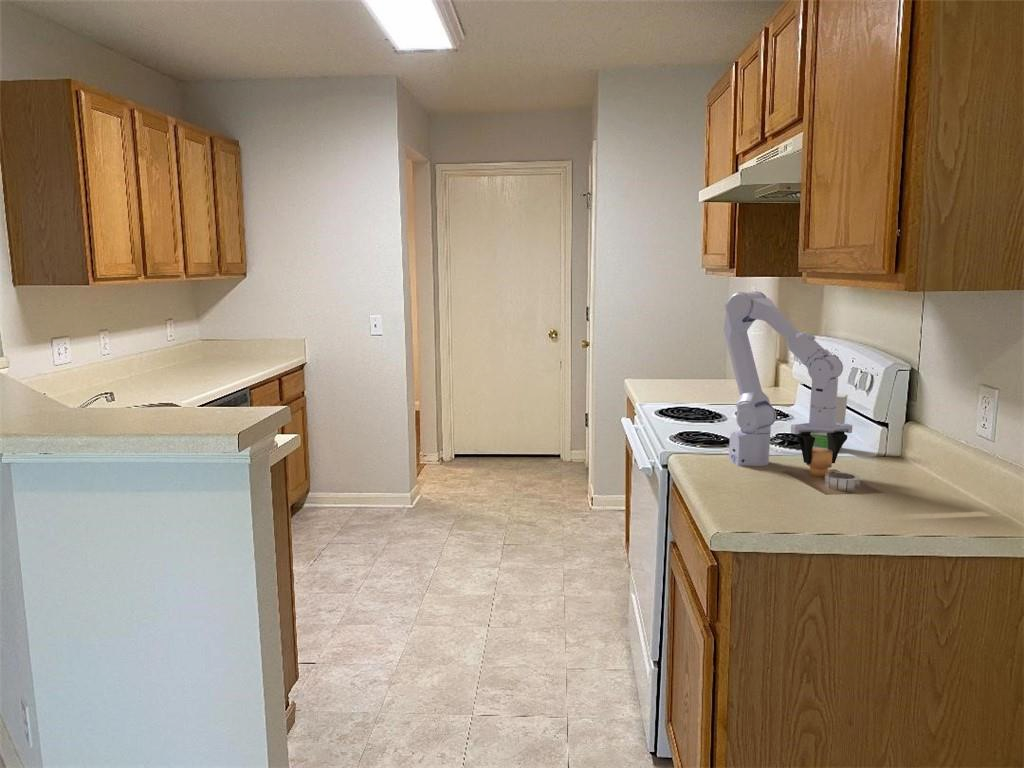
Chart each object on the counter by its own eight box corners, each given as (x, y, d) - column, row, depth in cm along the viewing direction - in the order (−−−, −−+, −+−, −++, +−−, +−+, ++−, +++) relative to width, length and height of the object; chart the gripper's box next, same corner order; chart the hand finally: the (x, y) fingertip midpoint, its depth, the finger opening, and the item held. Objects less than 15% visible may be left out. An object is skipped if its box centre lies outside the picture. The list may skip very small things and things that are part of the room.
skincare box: (808, 448, 215) (812, 393, 213) (812, 444, 221) (815, 390, 218) (840, 452, 211) (845, 396, 209) (843, 447, 217) (847, 393, 214)
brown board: (825, 497, 168) (825, 494, 168) (781, 474, 188) (781, 470, 188) (884, 495, 170) (884, 492, 170) (835, 472, 190) (835, 469, 190)
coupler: (813, 478, 181) (815, 453, 180) (801, 472, 187) (803, 448, 186) (835, 477, 182) (837, 452, 181) (823, 471, 187) (824, 447, 186)
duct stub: (835, 491, 170) (836, 480, 170) (818, 482, 177) (819, 472, 177) (865, 490, 171) (866, 479, 171) (847, 481, 178) (848, 471, 178)
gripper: (802, 410, 177) (799, 467, 179) (861, 409, 179) (857, 466, 181) (787, 404, 184) (784, 460, 186) (844, 403, 186) (840, 458, 188)
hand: (819, 462), depth 184 cm, fingers closed on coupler, 6 cm apart
